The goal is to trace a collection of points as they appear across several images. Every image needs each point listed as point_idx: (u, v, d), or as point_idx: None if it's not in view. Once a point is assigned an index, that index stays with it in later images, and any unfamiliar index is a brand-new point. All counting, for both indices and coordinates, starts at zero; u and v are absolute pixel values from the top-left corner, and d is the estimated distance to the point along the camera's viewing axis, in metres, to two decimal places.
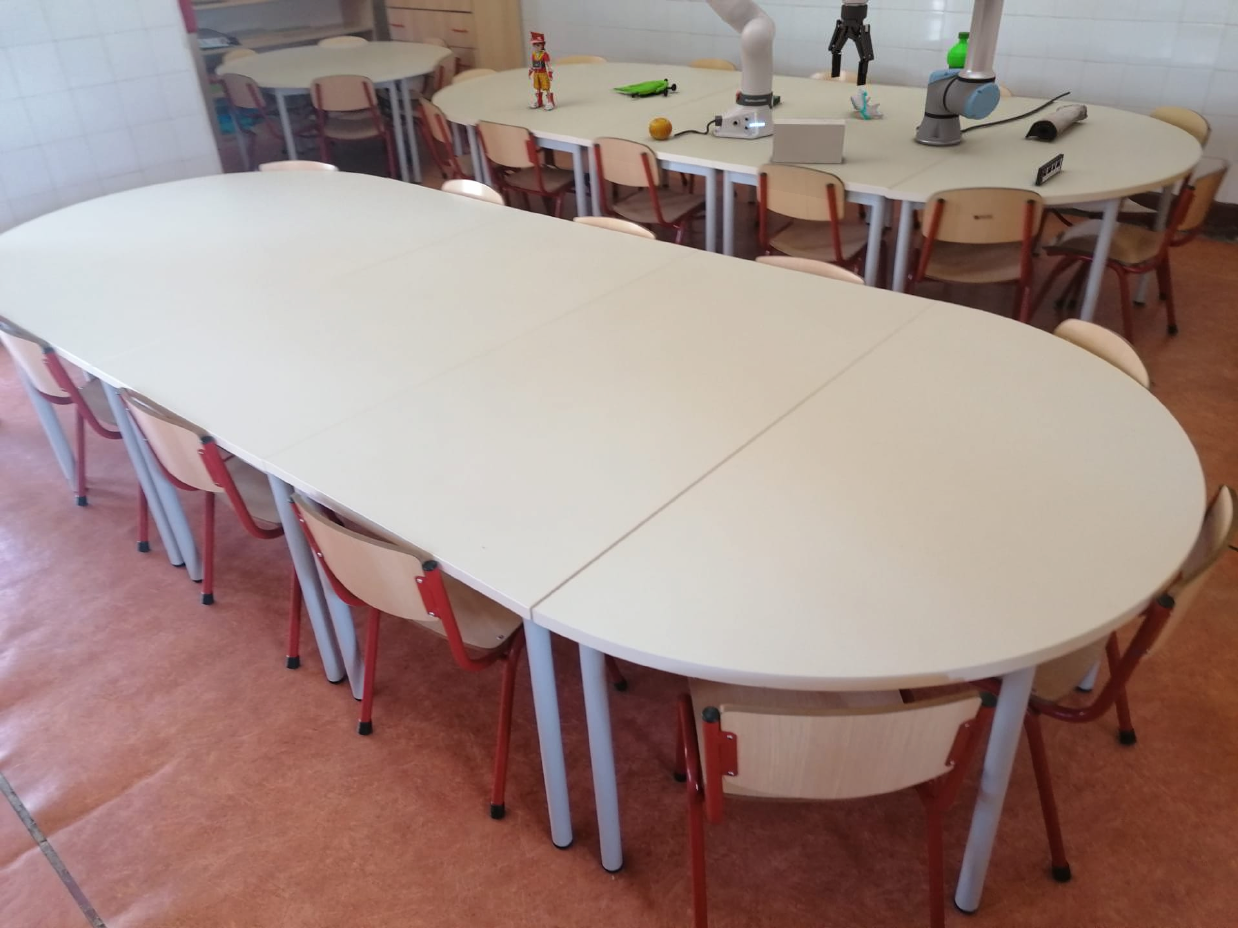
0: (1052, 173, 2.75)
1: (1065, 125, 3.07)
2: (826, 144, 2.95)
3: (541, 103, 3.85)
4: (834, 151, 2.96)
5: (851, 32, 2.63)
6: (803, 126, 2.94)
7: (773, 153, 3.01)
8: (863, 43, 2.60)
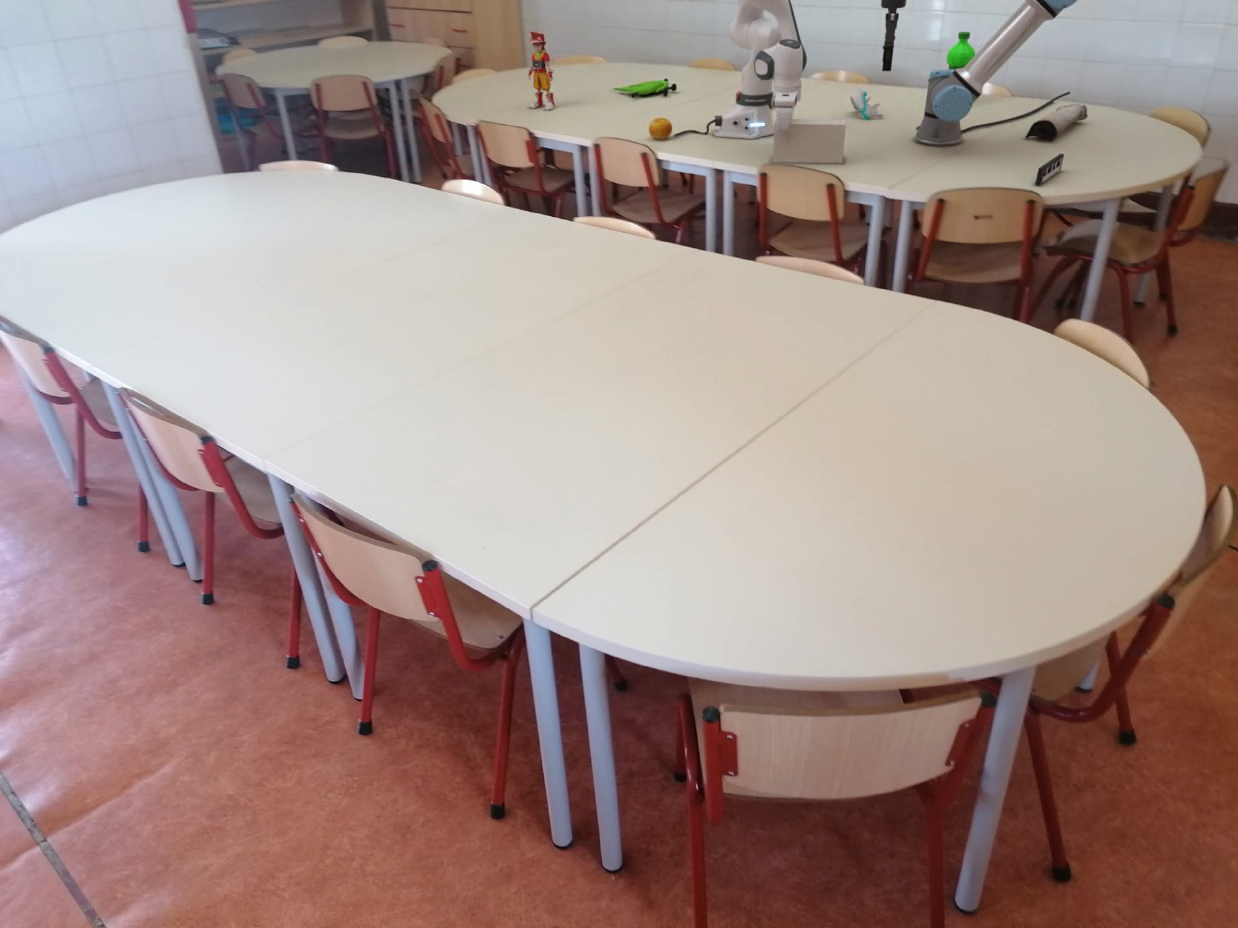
0: (1052, 173, 2.75)
1: (1065, 125, 3.07)
2: (827, 144, 2.95)
3: (541, 103, 3.85)
4: (834, 151, 2.96)
5: None
6: (804, 126, 2.93)
7: (774, 153, 3.01)
8: None
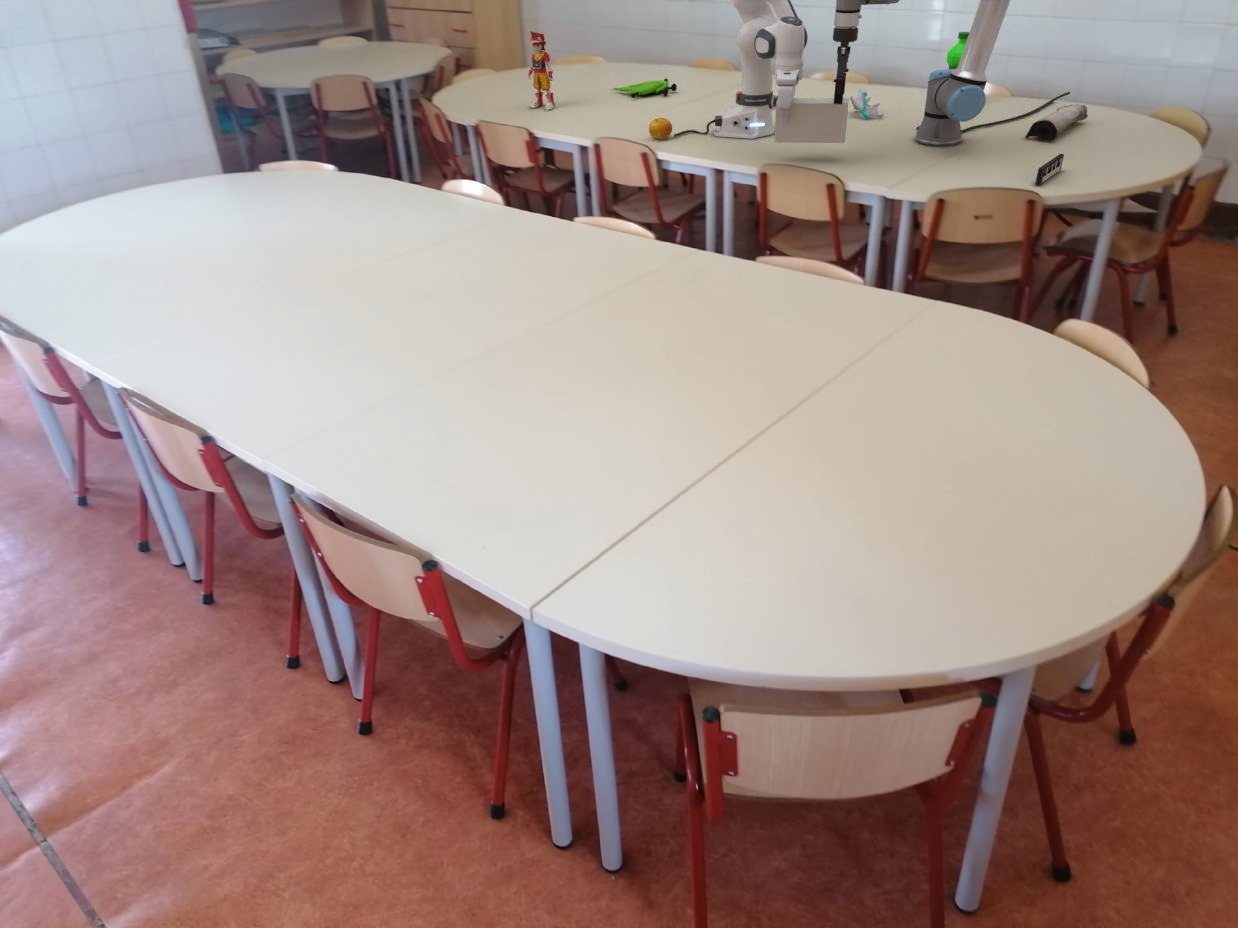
0: (1052, 173, 2.75)
1: (1065, 125, 3.07)
2: (830, 124, 2.92)
3: (541, 103, 3.85)
4: (837, 130, 2.92)
5: None
6: (806, 105, 2.90)
7: (775, 133, 2.97)
8: None
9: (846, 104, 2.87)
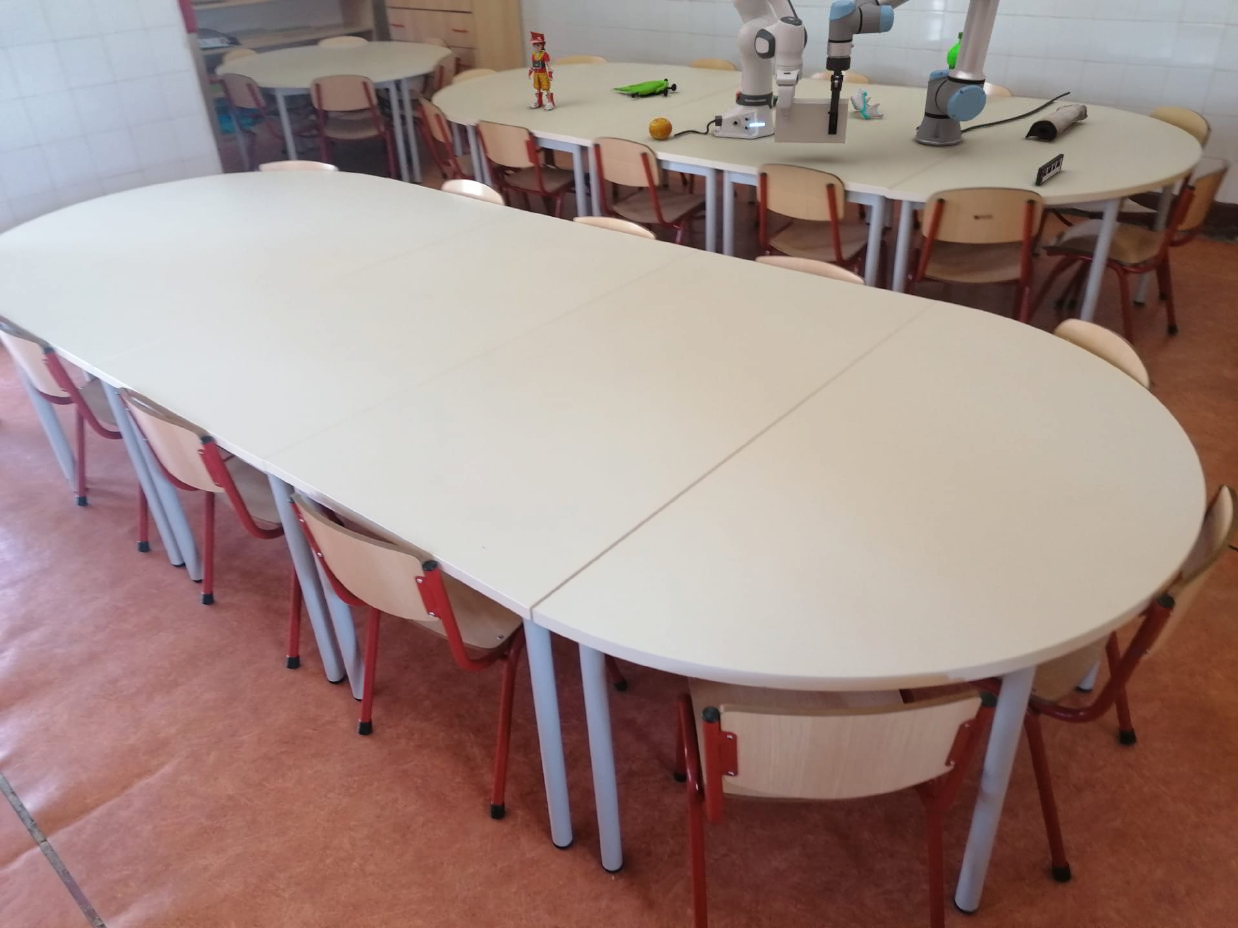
0: (1052, 173, 2.75)
1: (1065, 125, 3.07)
2: None
3: (541, 103, 3.85)
4: (837, 131, 2.92)
5: None
6: (806, 105, 2.90)
7: (775, 133, 2.97)
8: None
9: (846, 104, 2.87)
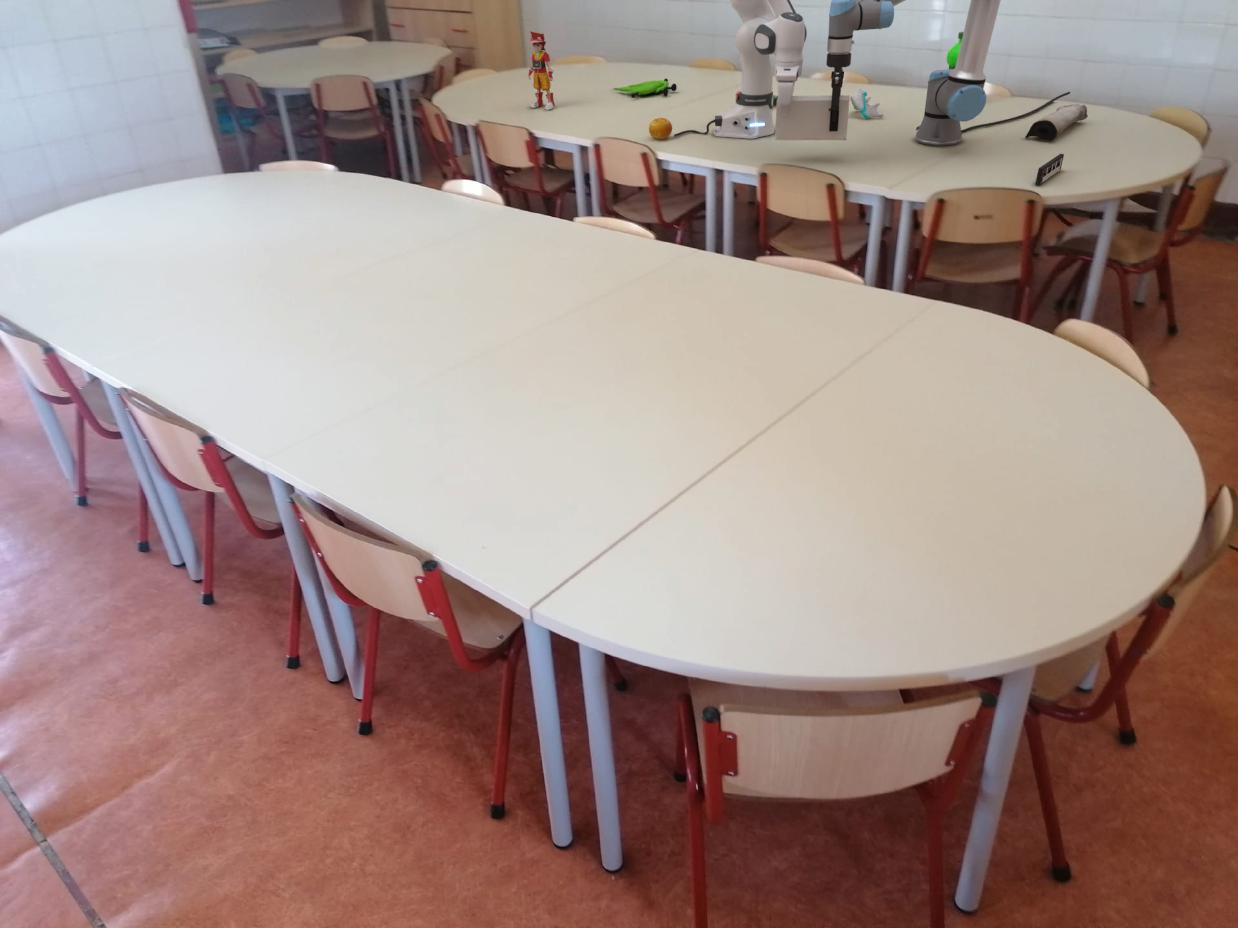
0: (1052, 173, 2.75)
1: (1065, 125, 3.07)
2: None
3: (541, 103, 3.85)
4: (838, 128, 2.91)
5: None
6: (807, 102, 2.89)
7: (776, 131, 2.97)
8: None
9: (847, 101, 2.86)
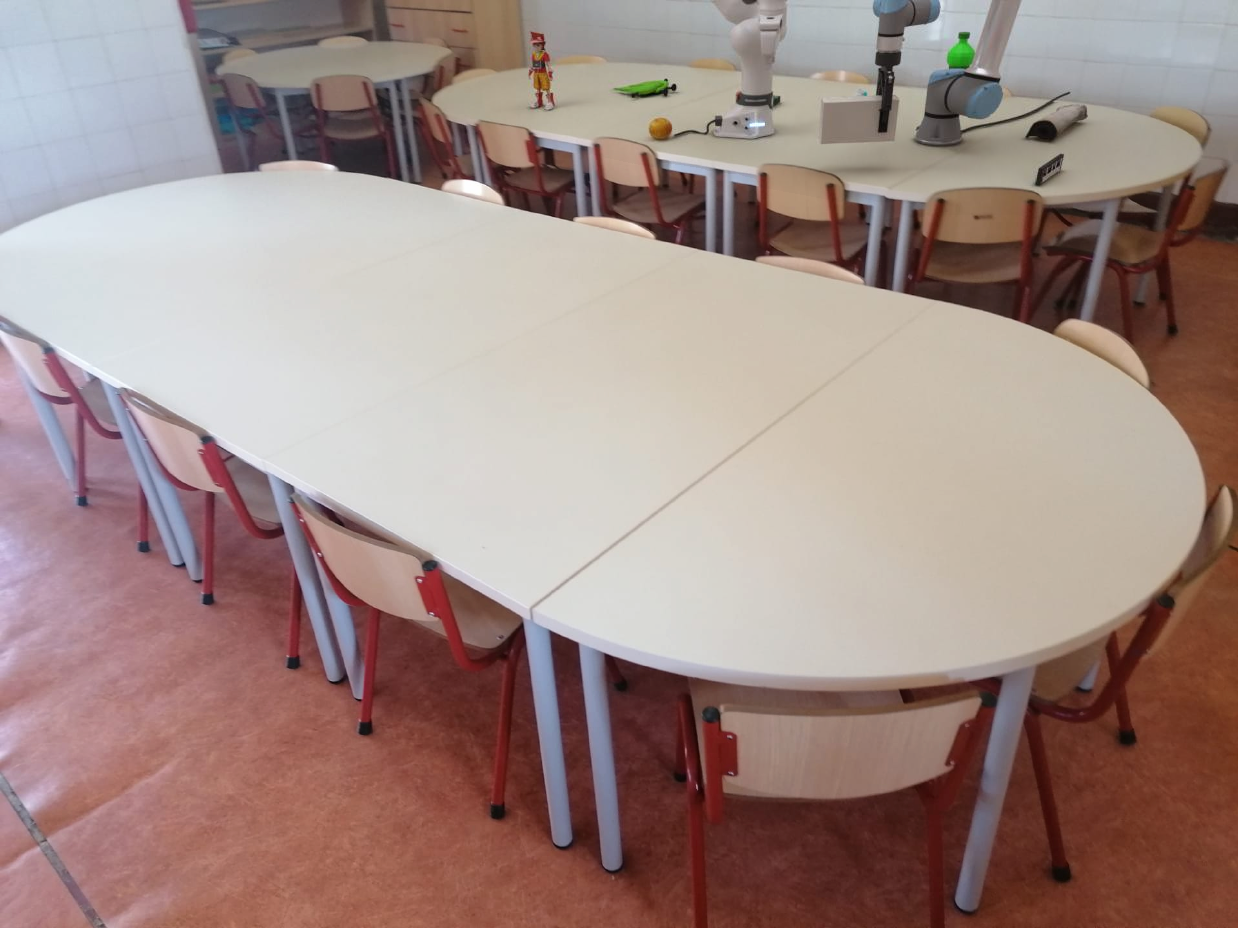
0: (1052, 173, 2.75)
1: (1065, 125, 3.07)
2: None
3: (541, 103, 3.85)
4: (887, 128, 2.81)
5: None
6: (856, 103, 2.77)
7: (822, 134, 2.83)
8: None
9: (897, 100, 2.76)
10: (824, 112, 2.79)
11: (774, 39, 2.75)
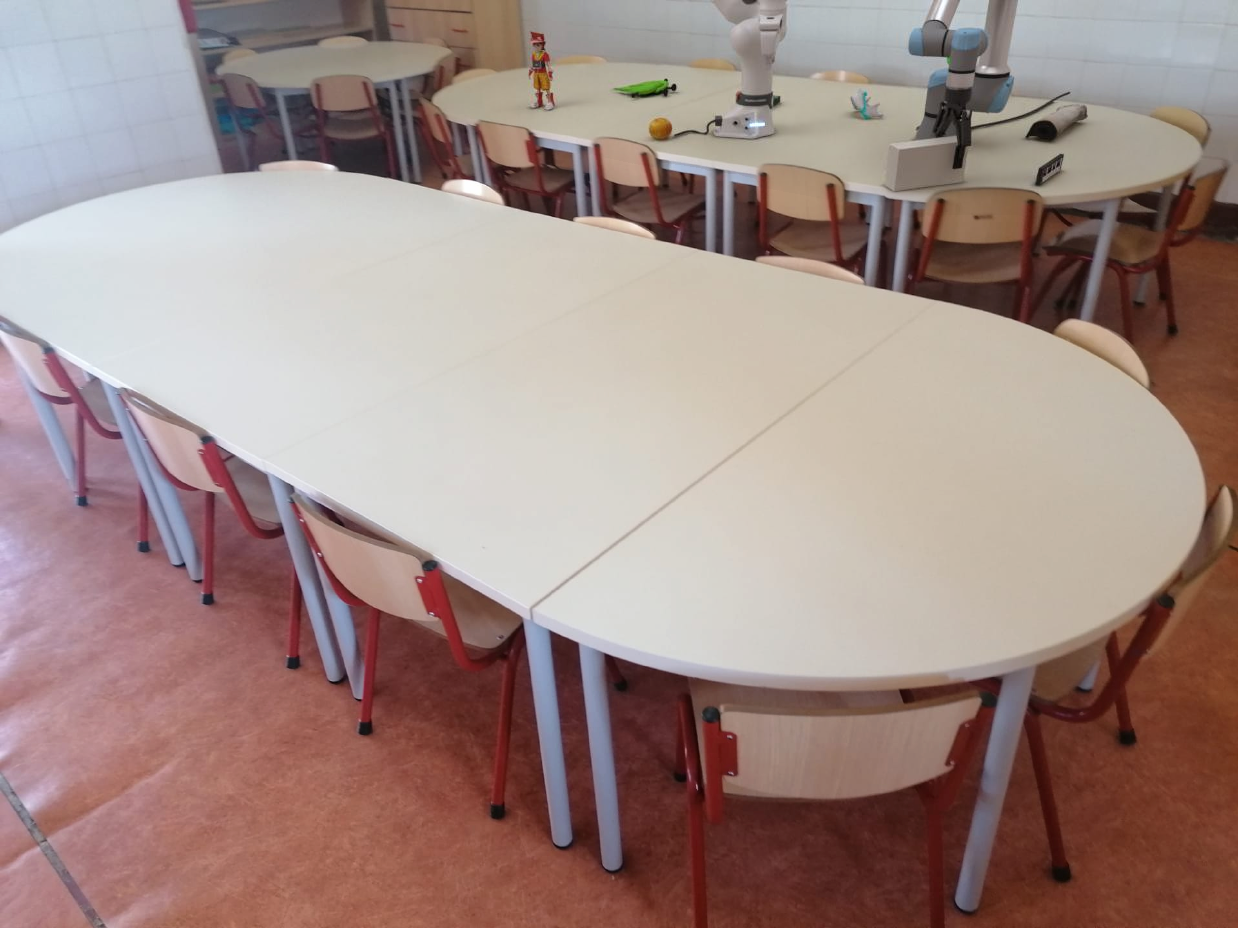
0: (1052, 173, 2.75)
1: (1065, 125, 3.07)
2: (950, 164, 2.71)
3: (541, 103, 3.85)
4: (956, 170, 2.73)
5: None
6: (929, 147, 2.67)
7: (896, 181, 2.70)
8: None
9: None
10: (899, 159, 2.67)
11: (774, 39, 2.75)
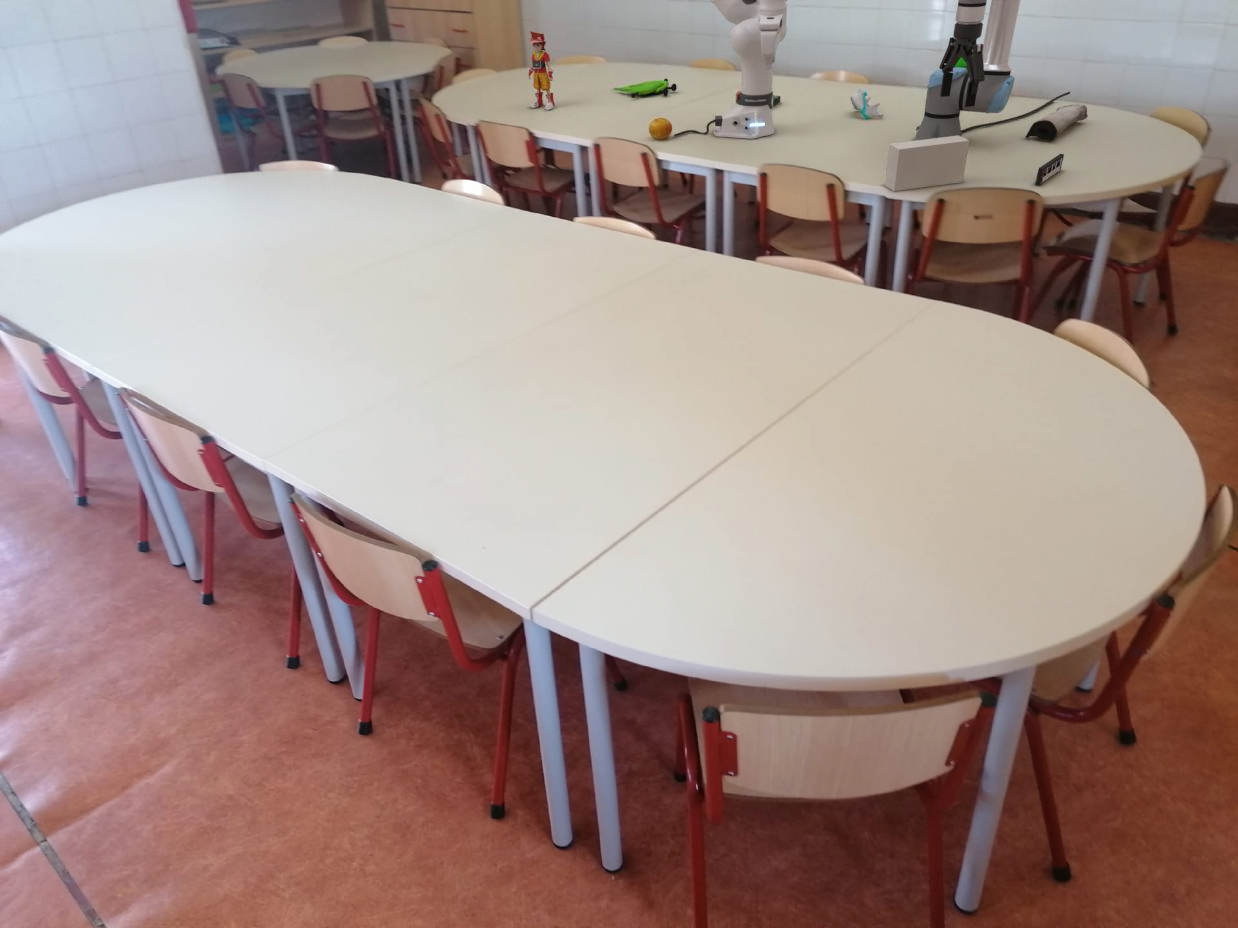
0: (1052, 173, 2.75)
1: (1065, 125, 3.07)
2: (950, 164, 2.71)
3: (541, 103, 3.85)
4: (956, 170, 2.73)
5: None
6: (929, 147, 2.67)
7: (896, 181, 2.70)
8: None
9: (967, 142, 2.69)
10: (899, 159, 2.67)
11: (774, 39, 2.75)
